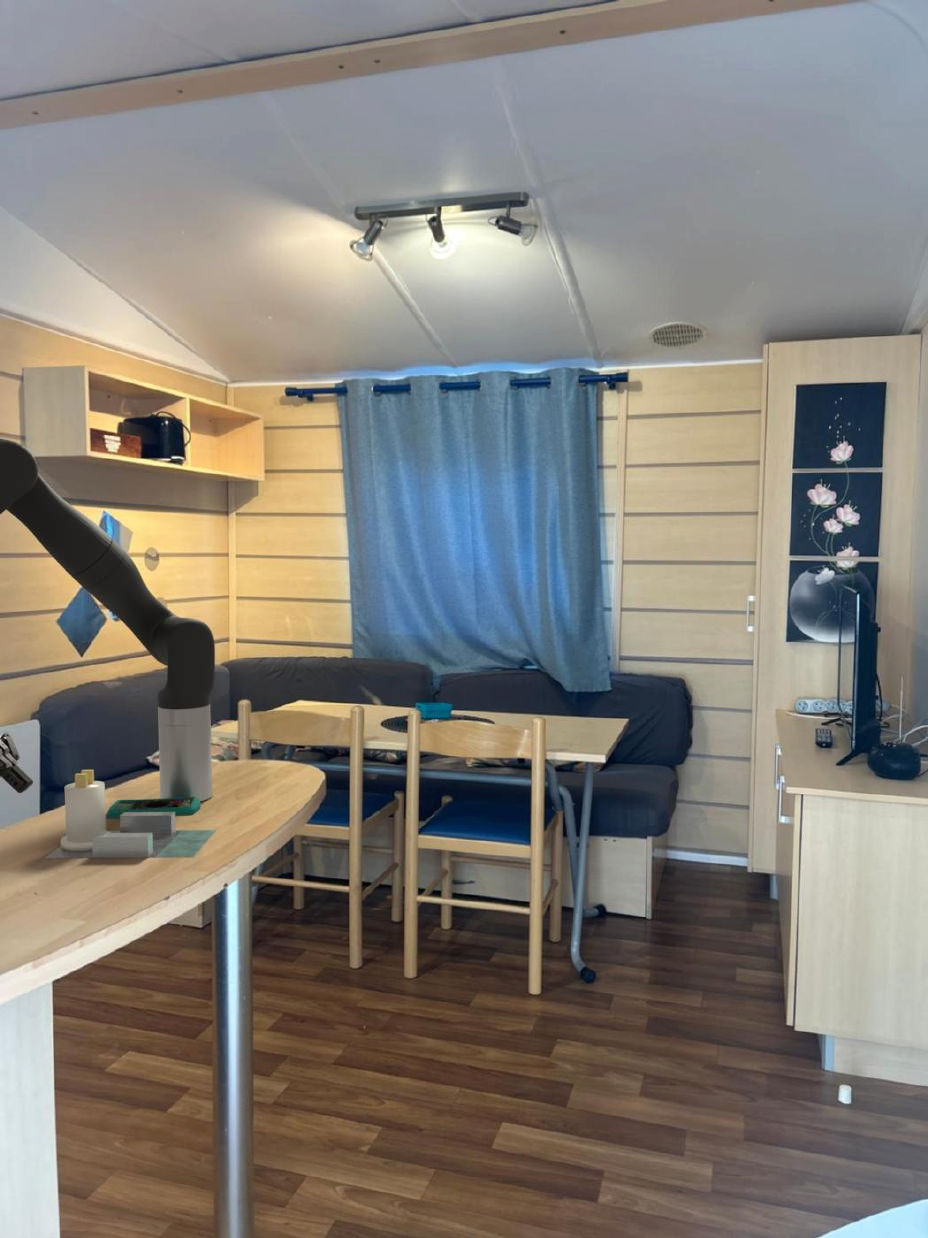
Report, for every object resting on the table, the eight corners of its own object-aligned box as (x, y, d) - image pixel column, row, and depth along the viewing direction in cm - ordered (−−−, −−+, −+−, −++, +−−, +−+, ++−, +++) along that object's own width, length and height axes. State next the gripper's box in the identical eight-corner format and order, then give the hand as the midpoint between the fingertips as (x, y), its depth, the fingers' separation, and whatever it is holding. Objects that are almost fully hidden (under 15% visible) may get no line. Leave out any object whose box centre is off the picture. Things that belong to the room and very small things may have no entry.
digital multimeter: (197, 822, 155) (197, 805, 155) (105, 827, 153) (104, 810, 153) (202, 811, 163) (202, 794, 162) (114, 815, 160) (114, 798, 160)
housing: (80, 837, 146) (80, 812, 146) (216, 836, 146) (216, 811, 146) (44, 865, 133) (43, 837, 133) (193, 863, 133) (193, 836, 133)
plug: (72, 836, 143) (70, 766, 142) (119, 836, 143) (117, 766, 142) (52, 851, 136) (49, 778, 135) (101, 851, 136) (99, 777, 135)
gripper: (-65, 696, 131) (24, 781, 132) (-18, 684, 144) (63, 761, 145) (-102, 733, 131) (-13, 817, 132) (-51, 717, 144) (30, 794, 145)
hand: (27, 788), depth 139 cm, fingers closed
